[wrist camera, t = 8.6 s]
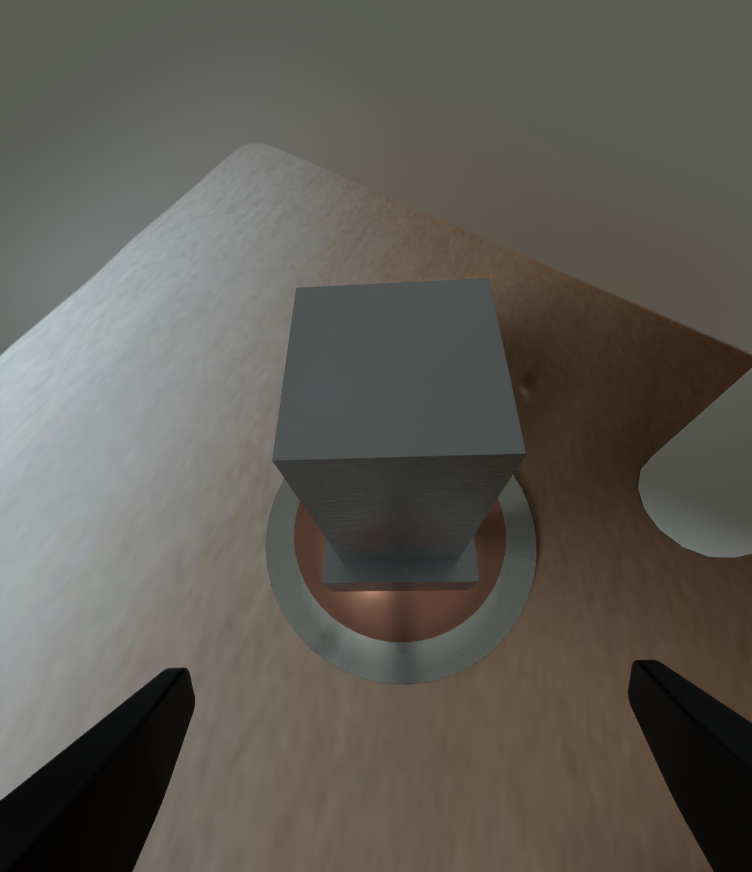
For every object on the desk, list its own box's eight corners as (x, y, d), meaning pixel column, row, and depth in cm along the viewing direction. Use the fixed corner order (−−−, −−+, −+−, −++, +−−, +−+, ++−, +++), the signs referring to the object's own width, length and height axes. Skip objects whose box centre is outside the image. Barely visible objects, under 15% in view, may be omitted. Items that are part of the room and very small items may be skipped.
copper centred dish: (544, 702, 16) (555, 706, 15) (240, 662, 17) (228, 663, 16) (521, 428, 22) (528, 415, 21) (299, 414, 23) (293, 402, 22)
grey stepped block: (469, 590, 17) (581, 493, 6) (332, 591, 17) (223, 501, 7) (455, 464, 20) (516, 255, 9) (338, 467, 20) (268, 268, 10)
